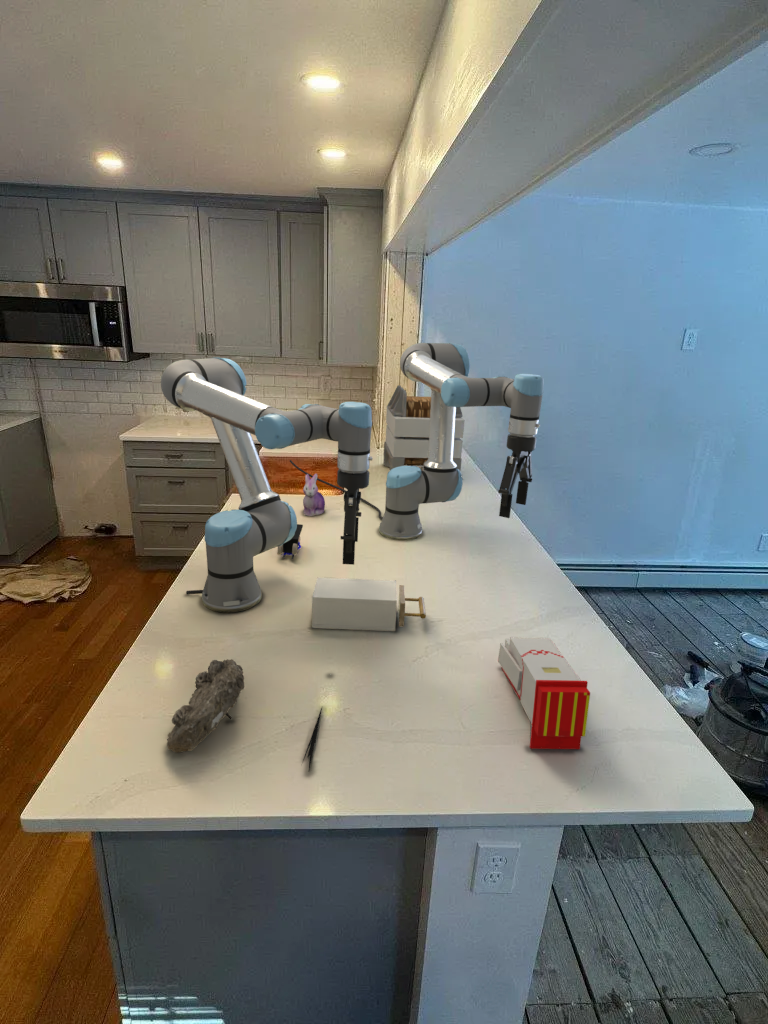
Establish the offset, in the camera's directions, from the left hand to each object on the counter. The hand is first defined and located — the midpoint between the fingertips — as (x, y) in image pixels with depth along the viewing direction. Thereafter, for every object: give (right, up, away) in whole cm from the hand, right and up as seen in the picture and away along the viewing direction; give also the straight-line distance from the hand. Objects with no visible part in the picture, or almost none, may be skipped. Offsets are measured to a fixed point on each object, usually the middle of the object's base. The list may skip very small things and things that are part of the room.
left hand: (350, 552), depth 141 cm
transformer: (+26, +29, +134) cm, 140 cm away
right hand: (+44, +10, +16) cm, 48 cm away
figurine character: (-21, -3, +40) cm, 46 cm away
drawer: (+6, -16, +4) cm, 18 cm away
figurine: (-19, +10, +76) cm, 79 cm away
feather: (-4, -30, -32) cm, 44 cm away
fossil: (-24, -29, -33) cm, 50 cm away
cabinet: (+1, -17, +4) cm, 18 cm away
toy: (+39, -29, -24) cm, 54 cm away
